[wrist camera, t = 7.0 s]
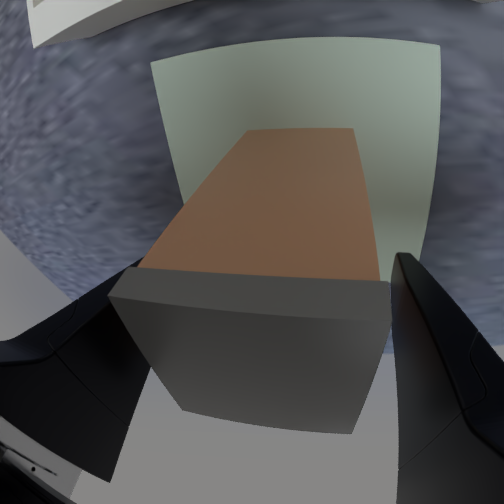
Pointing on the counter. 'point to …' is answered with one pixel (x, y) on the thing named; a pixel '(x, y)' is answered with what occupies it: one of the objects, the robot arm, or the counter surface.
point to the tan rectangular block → (267, 287)
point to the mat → (316, 115)
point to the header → (90, 17)
